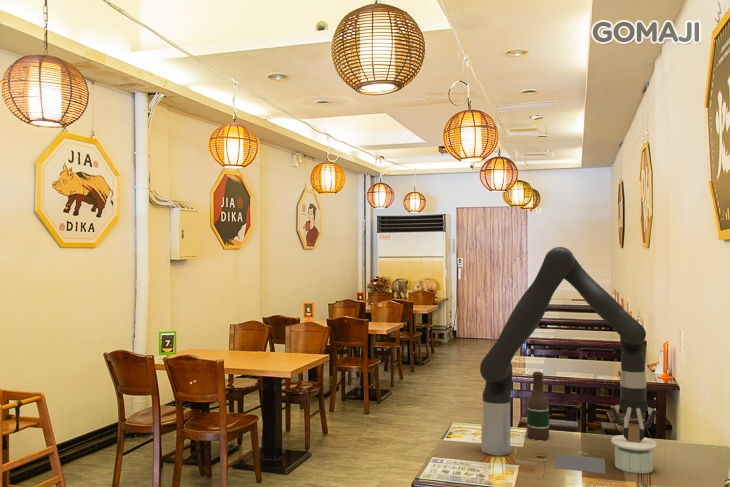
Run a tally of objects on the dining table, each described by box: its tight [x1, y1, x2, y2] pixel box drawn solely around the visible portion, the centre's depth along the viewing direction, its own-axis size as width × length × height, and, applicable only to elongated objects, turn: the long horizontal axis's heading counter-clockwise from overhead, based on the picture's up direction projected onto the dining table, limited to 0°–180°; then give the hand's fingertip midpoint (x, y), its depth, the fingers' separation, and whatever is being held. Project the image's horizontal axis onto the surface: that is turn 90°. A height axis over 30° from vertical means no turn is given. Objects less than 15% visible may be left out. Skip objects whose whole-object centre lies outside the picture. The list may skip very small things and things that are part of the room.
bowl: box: [614, 445, 654, 474], centre depth 198 cm, size 11×11×6 cm
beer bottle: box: [526, 371, 550, 441], centre depth 231 cm, size 8×8×24 cm
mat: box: [554, 453, 606, 474], centre depth 201 cm, size 15×15×1 cm
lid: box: [610, 422, 657, 450], centre depth 198 cm, size 13×13×6 cm
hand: (633, 439), depth 198 cm, fingers closed on lid, 3 cm apart
